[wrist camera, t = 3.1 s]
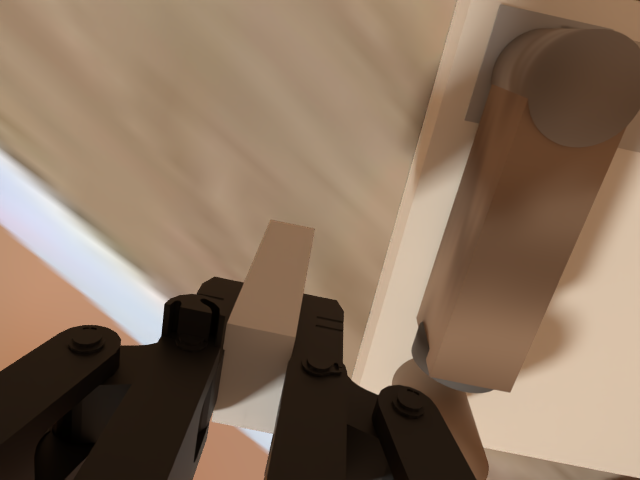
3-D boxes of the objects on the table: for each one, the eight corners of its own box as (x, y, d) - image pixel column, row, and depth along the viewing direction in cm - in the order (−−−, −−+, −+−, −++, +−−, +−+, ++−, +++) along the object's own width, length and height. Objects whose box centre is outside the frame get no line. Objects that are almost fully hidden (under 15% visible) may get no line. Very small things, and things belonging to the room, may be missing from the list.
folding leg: (503, 17, 17) (547, 15, 14) (604, 40, 18) (676, 44, 14) (406, 325, 22) (418, 387, 18) (485, 341, 22) (514, 407, 19)
